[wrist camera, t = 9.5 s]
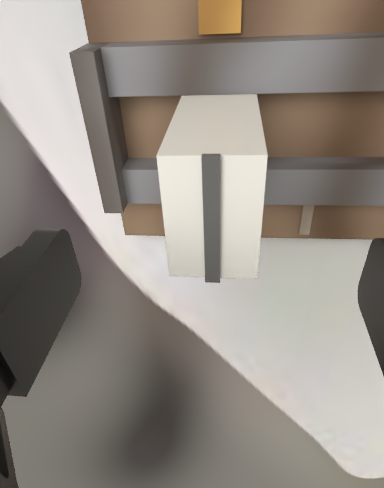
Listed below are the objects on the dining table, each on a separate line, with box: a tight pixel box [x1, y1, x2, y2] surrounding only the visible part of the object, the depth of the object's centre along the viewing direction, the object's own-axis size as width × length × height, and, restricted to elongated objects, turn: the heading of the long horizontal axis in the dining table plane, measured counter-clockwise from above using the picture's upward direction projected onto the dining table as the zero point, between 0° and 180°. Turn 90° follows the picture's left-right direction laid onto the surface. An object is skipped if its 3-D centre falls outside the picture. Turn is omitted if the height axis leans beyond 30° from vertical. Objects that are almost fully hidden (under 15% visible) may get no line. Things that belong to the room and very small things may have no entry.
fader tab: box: [156, 94, 268, 283], centre depth 15 cm, size 3×4×9 cm, turn 2°
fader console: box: [69, 0, 384, 239], centre depth 17 cm, size 26×14×4 cm, turn 92°
